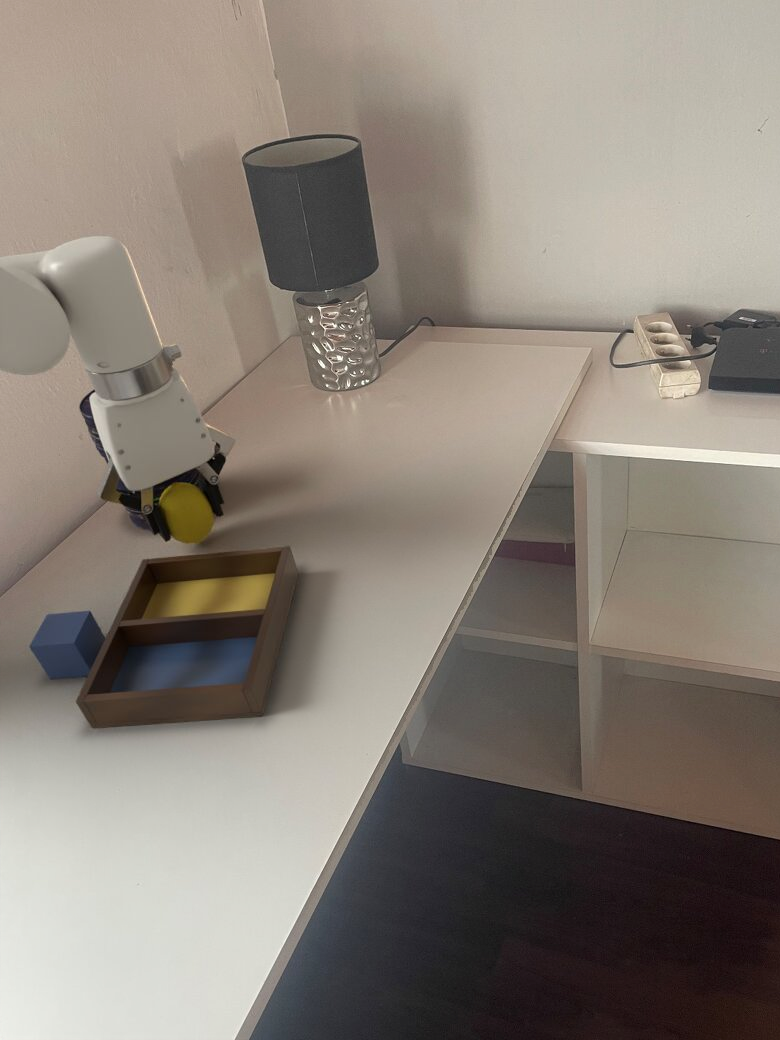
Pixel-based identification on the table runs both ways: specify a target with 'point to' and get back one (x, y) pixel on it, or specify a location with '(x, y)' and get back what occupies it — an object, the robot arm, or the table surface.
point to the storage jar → (134, 514)
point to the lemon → (186, 512)
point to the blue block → (67, 644)
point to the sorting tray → (193, 640)
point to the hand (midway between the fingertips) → (189, 522)
